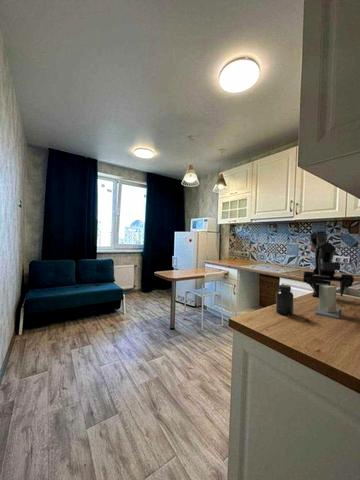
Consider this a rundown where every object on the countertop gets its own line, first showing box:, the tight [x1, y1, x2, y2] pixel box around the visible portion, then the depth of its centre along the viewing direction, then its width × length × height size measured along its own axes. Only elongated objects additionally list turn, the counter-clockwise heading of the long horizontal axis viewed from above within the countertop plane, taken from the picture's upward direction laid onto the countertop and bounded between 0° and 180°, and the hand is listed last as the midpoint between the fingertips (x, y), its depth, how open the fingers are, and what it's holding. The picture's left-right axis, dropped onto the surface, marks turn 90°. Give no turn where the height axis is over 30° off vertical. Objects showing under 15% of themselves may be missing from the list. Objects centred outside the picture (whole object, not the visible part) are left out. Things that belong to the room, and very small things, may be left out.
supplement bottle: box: [275, 284, 294, 316], centre depth 91 cm, size 7×7×12 cm
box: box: [318, 284, 337, 312], centre depth 93 cm, size 5×4×11 cm
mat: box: [315, 303, 340, 320], centre depth 93 cm, size 14×8×1 cm, turn 142°
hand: (328, 294), depth 91 cm, fingers open, 9 cm apart
